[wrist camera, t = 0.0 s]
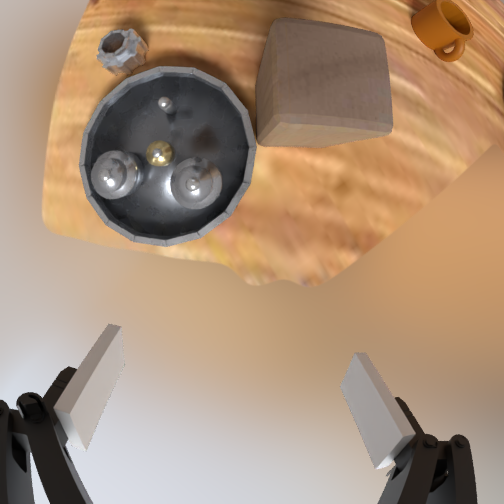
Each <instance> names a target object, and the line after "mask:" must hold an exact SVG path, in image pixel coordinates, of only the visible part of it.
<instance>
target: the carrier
mask: <svg viewBox="0 0 504 504" xmlns="http://www.w3.org/2000/svg"><path fill="white" fill-rule="evenodd" d="M256 148H257V146H256V142H255V138H254V134H253V129H252V125H251V121H250V117H249V113H248V110H247V109H246V108H245V107H244V105H243V104H242V103H241V102H240V100H239V99H238V98H237V97H236V95H235V94H234V93H233V92H232V90H231V89H230V88H229V87H228V85H227V84H226V83H224V82H222V81H221V80H219V79H217V78H215V77H213V76H211V75H209V74H207V73H205V72H202V71H200V70H198V69H196V68H193V67H172V66H159V67H156V68H153V69H150V70H147V71H144V72H142V73H139V74H136V75H134V76H131V77H129V78H126V79H125V80H124V81H123V82H121V83H120V84H119V85H118V86H117V87H116V88H115V89H113V90H112V91H111V92H110V93H109V94H108V95H107V96H106V97H105V98H103V99H102V100H101V101H100V102H99V104H98V106H97V108H96V110H95V111H94V113H93V115H92V117H91V119H90V121H89V123H88V125H87V127H86V129H85V131H84V133H83V139H82V146H81V153H80V162H79V168H80V173H81V177H82V181H83V186H84V190H85V194H86V197H87V199H88V201H89V202H90V204H91V205H92V207H93V208H94V209H95V211H96V212H97V214H98V215H99V216H100V218H101V219H102V221H103V222H104V223H105V225H107V226H108V227H110V228H111V229H113V230H115V231H116V232H118V233H120V234H121V235H123V236H125V237H126V238H128V239H129V240H131V241H133V242H137V243H144V244H151V245H157V246H164V247H168V246H172V245H176V244H179V243H183V242H187V241H191V240H195V239H199V238H201V237H203V236H204V235H205V234H207V233H208V232H210V231H211V230H212V229H214V228H215V227H216V226H218V225H219V224H220V223H222V222H223V221H224V220H226V219H227V218H228V217H230V216H231V214H232V213H233V211H234V209H235V208H236V206H237V205H238V203H239V201H240V200H241V198H242V196H243V195H244V193H245V192H246V190H247V188H248V187H249V185H250V183H251V177H252V171H253V167H254V160H255V154H256Z"/></svg>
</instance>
